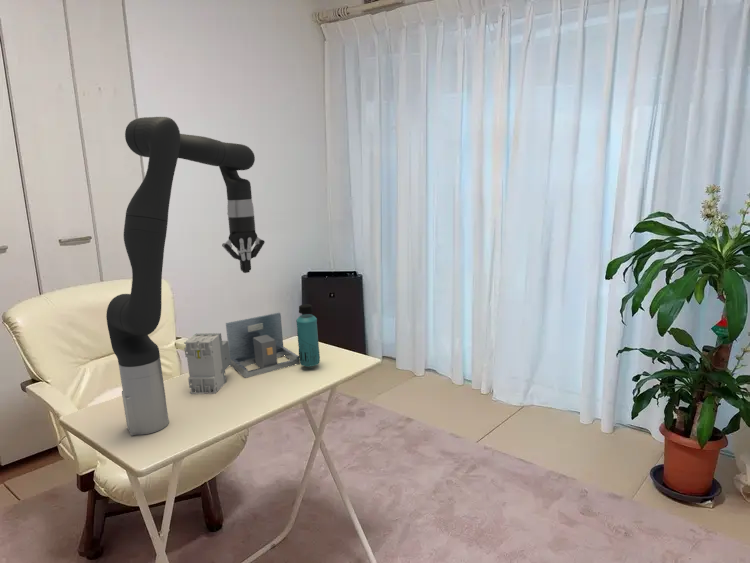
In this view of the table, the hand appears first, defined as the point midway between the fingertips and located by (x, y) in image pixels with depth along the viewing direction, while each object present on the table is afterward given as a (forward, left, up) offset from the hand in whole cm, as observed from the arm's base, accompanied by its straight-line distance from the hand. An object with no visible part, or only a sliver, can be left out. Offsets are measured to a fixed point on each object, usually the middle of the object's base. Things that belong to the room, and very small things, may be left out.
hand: (246, 272), depth 164 cm
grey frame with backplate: (+3, 0, -30) cm, 30 cm away
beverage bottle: (+13, -12, -31) cm, 35 cm away
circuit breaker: (-15, -5, -31) cm, 34 cm away
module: (+3, -2, -30) cm, 31 cm away
